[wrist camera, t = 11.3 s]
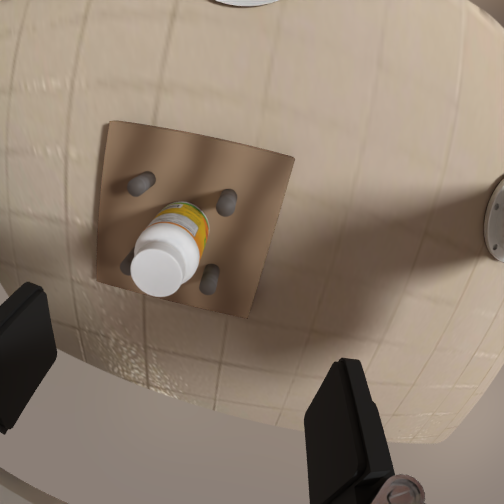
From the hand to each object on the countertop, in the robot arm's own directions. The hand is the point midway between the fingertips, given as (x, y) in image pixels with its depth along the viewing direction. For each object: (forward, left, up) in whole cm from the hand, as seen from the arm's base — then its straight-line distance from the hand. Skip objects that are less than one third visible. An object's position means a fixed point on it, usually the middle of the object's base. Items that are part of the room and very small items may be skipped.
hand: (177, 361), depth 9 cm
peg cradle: (+4, +5, -24) cm, 25 cm away
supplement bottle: (+4, +5, -23) cm, 23 cm away
